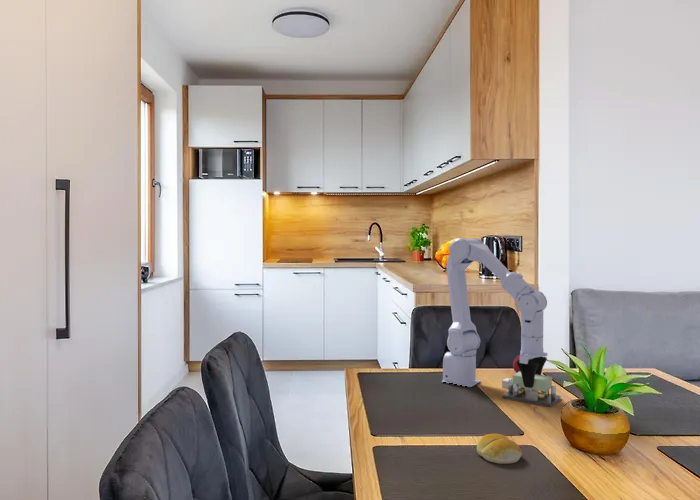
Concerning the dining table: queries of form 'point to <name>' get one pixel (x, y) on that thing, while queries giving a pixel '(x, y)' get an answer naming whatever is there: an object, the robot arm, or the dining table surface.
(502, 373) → the dining table surface
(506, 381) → the stand
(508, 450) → the bread roll
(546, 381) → the pale green block
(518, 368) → the onion
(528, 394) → the chassis
